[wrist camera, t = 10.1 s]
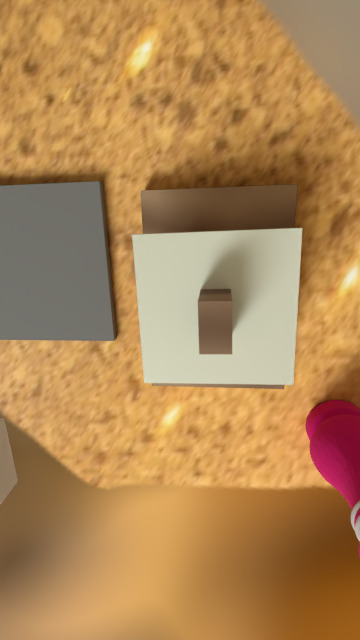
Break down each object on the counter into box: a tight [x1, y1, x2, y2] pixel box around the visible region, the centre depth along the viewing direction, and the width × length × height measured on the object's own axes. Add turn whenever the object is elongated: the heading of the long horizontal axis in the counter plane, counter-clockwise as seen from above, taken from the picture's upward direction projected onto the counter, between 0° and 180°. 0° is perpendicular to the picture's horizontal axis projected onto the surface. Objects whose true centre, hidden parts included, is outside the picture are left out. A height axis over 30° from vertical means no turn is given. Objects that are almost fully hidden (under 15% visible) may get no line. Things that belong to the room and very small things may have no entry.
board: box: [141, 184, 297, 389], centre depth 34 cm, size 20×14×2 cm
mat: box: [0, 181, 117, 341], centre depth 36 cm, size 16×16×1 cm
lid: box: [132, 228, 302, 385], centre depth 27 cm, size 13×13×5 cm
